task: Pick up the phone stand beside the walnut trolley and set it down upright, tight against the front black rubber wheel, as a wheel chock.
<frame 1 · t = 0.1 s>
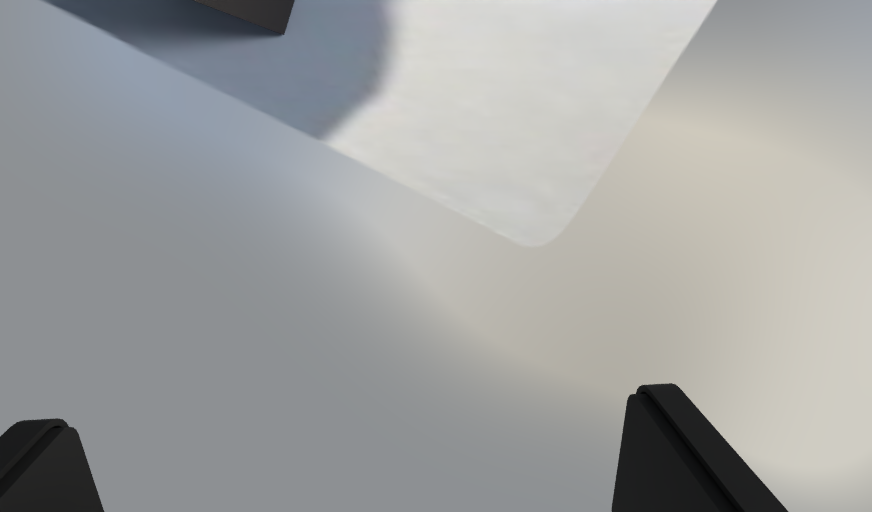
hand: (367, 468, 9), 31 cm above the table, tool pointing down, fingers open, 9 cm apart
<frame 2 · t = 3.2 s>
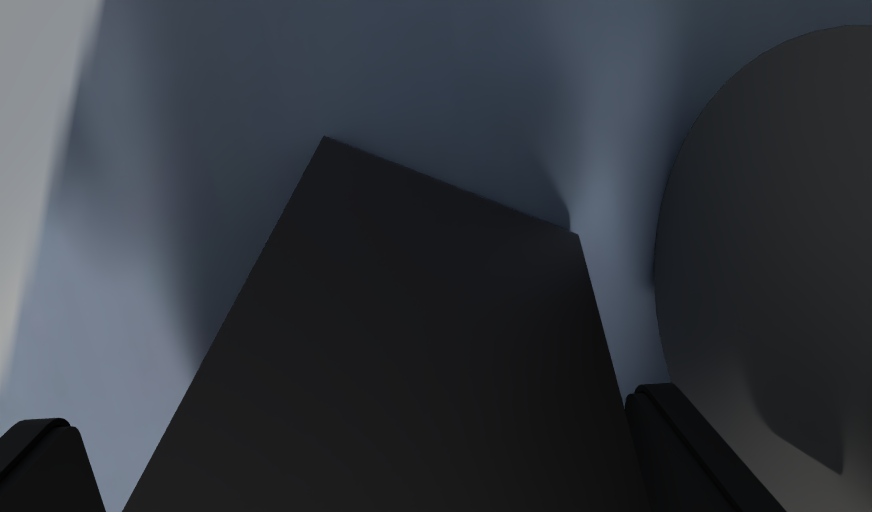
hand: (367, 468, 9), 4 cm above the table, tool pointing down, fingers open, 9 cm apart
phone stand: (386, 345, 13), on the table
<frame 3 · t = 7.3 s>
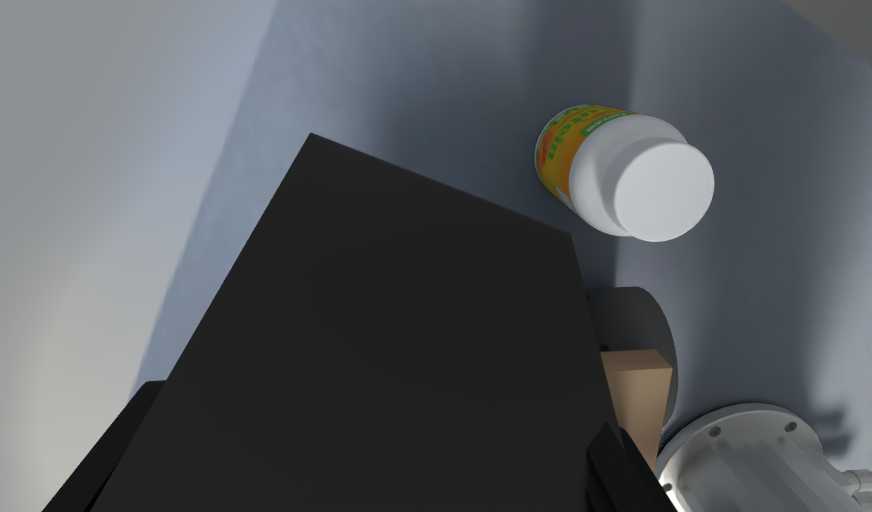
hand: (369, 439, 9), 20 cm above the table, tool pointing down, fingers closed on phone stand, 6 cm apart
phone stand: (376, 345, 13), point 17 cm above the table, touching gripper
trolley: (494, 419, 34), on the table
supplement bottle: (578, 152, 29), on the table
when the fingers open (4 cm above the table, at t = 10.9 s): phone stand drops 1 cm, on the table.
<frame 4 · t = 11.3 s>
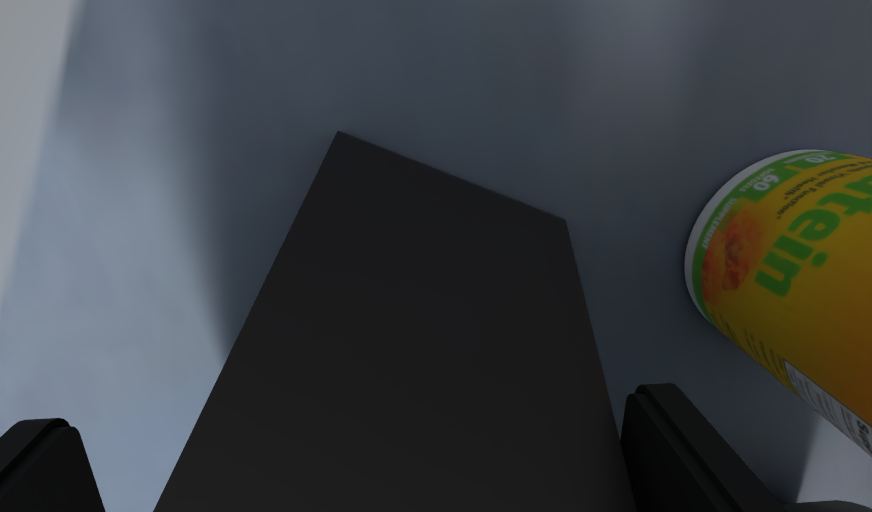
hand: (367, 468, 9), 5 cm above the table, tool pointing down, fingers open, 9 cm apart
phone stand: (391, 321, 14), on the table
supplement bottle: (768, 243, 14), on the table
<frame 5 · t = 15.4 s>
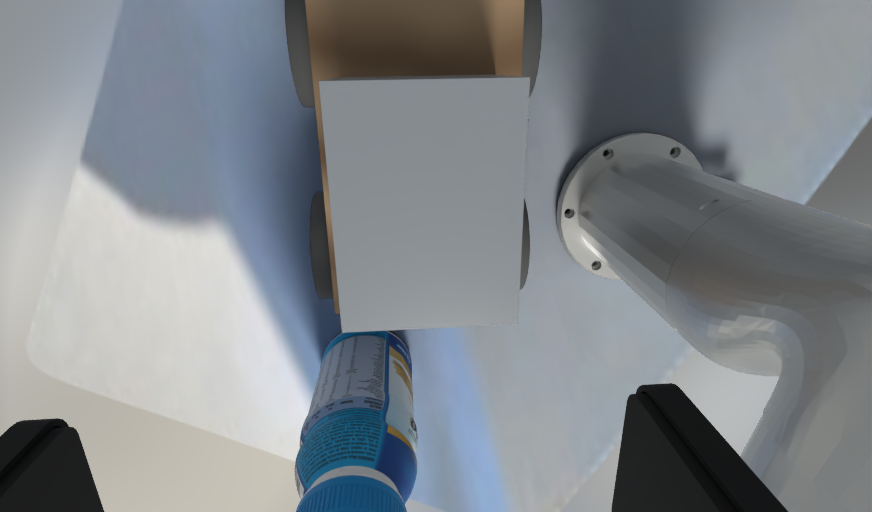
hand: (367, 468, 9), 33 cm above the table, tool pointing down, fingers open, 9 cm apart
beverage bottle: (367, 361, 47), on the table
trolley: (415, 141, 40), on the table
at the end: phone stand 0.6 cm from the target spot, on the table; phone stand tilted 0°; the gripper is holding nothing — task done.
